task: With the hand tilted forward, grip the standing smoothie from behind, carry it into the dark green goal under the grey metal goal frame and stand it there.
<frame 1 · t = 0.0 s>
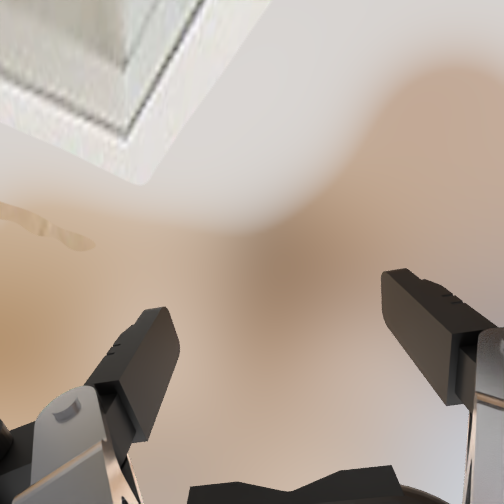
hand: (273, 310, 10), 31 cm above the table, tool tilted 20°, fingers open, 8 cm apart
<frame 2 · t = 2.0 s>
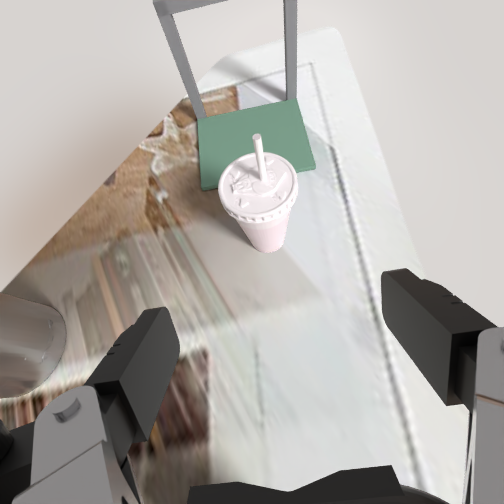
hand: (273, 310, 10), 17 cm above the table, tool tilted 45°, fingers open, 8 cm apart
goal: (252, 144, 36), on the table
smoothie: (267, 238, 30), on the table
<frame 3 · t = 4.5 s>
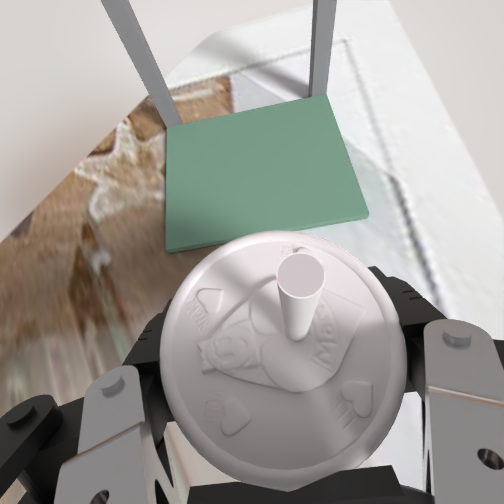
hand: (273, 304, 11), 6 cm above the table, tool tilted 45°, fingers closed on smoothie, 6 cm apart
goal: (254, 169, 22), on the table
smoothie: (285, 358, 16), on the table, touching gripper
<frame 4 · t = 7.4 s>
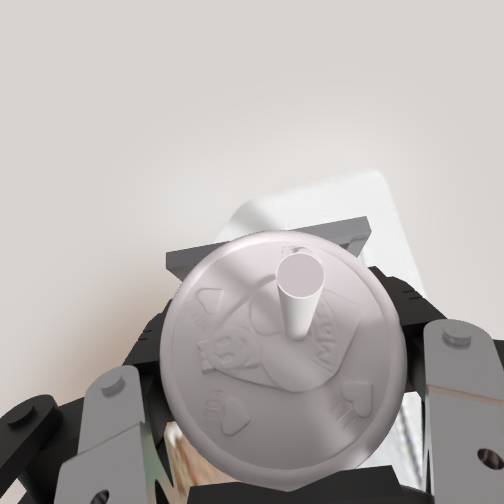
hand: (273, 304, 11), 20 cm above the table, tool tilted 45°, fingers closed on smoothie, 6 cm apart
goal: (287, 356, 29), on the table
smoothie: (285, 357, 16), point 14 cm above the table, touching gripper
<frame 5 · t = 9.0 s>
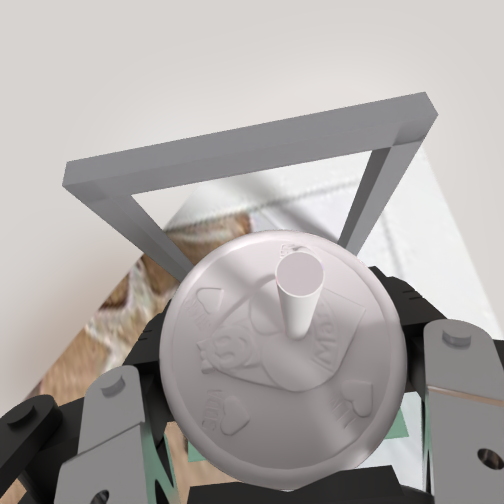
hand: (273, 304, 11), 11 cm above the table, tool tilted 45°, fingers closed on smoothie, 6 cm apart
goal: (280, 350, 20), on the table
smoothie: (285, 357, 16), point 4 cm above the table, touching gripper
when the fingers open (8 cm above the table, at t = 10.2 s): smoothie drops 1 cm, resting on goal.
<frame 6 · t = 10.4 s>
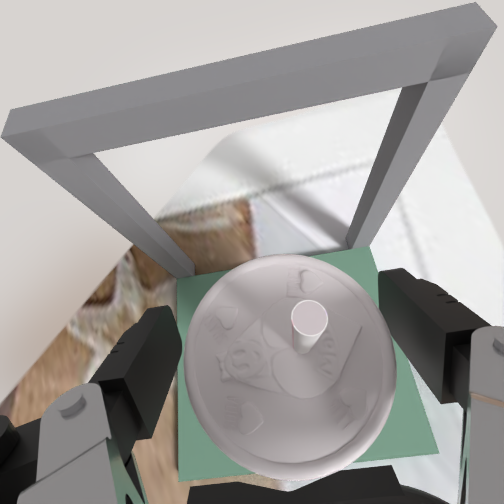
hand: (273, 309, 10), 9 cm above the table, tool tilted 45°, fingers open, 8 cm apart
goal: (285, 351, 18), on the table
smoothie: (289, 362, 17), resting on goal
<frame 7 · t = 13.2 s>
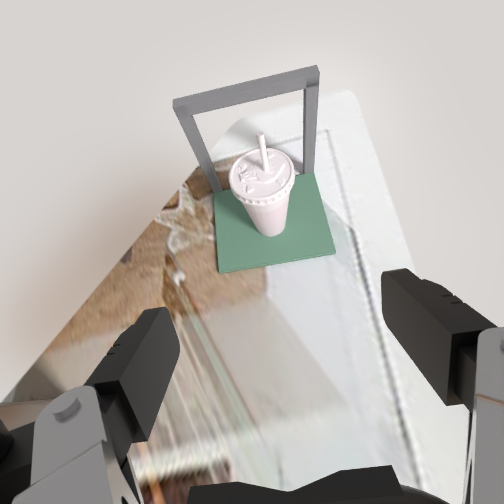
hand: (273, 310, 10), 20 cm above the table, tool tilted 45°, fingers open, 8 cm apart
goal: (269, 221, 36), on the table
smoothie: (270, 224, 35), resting on goal
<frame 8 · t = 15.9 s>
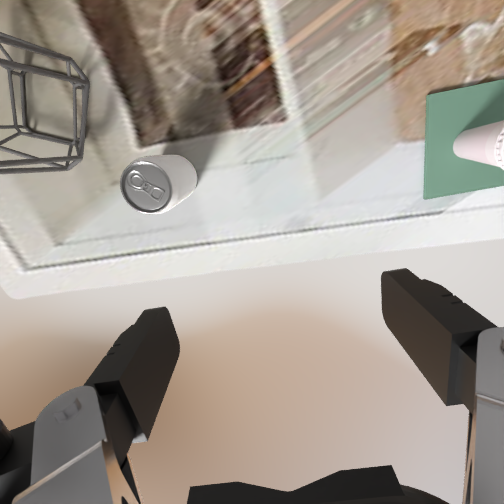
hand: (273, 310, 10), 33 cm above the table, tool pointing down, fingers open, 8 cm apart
can: (176, 177, 41), on the table
goal: (468, 141, 39), on the table
geometric lantern: (58, 116, 38), on the table
smoothie: (465, 143, 38), resting on goal
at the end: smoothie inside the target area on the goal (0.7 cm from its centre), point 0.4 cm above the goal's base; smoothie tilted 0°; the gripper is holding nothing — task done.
